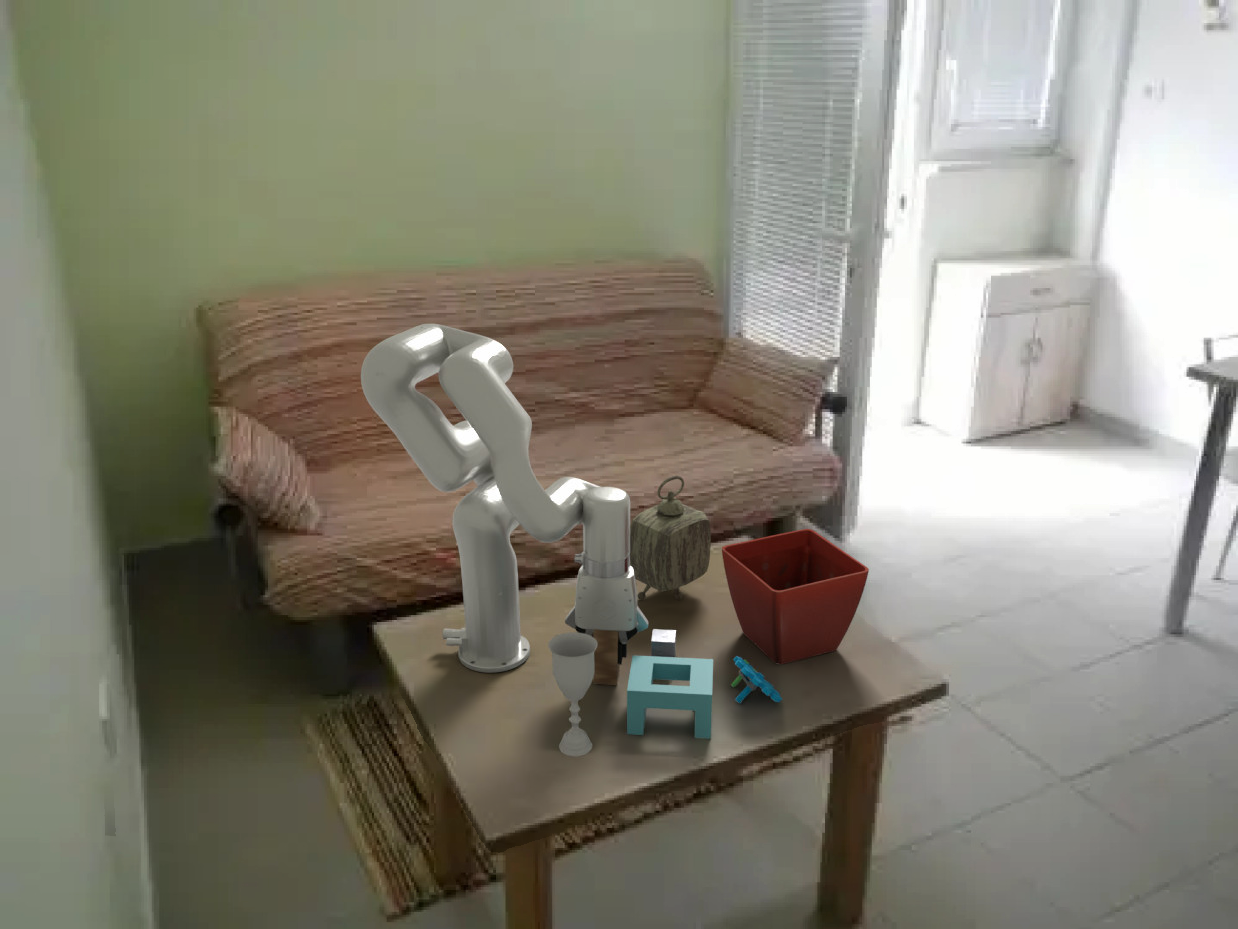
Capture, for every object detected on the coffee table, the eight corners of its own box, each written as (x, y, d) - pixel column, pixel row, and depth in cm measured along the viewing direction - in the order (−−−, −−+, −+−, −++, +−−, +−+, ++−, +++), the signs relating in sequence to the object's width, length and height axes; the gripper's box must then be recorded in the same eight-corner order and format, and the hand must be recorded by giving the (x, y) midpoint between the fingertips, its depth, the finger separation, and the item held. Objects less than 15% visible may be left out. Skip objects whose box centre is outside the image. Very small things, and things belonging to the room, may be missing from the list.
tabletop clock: (679, 576, 210) (681, 461, 201) (712, 591, 204) (716, 474, 194) (628, 600, 201) (627, 481, 191) (661, 617, 194) (662, 495, 185)
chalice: (547, 757, 156) (542, 654, 149) (557, 730, 162) (554, 630, 155) (594, 762, 154) (592, 659, 148) (603, 735, 161) (601, 634, 154)
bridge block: (627, 734, 161) (627, 690, 158) (632, 697, 170) (632, 655, 167) (710, 738, 160) (712, 694, 157) (711, 701, 169) (713, 659, 166)
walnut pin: (593, 683, 174) (593, 621, 169) (596, 670, 177) (596, 609, 173) (617, 685, 173) (617, 622, 169) (619, 671, 177) (619, 610, 172)
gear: (793, 705, 165) (750, 669, 162) (767, 732, 165) (724, 697, 162) (770, 676, 175) (730, 642, 173) (747, 701, 176) (706, 668, 173)
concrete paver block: (651, 671, 177) (651, 641, 175) (652, 659, 181) (652, 629, 179) (674, 672, 177) (674, 642, 175) (675, 660, 181) (676, 630, 178)
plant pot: (716, 627, 191) (719, 545, 185) (804, 606, 198) (810, 526, 192) (770, 680, 175) (774, 592, 168) (864, 656, 181) (872, 570, 175)
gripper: (552, 570, 164) (554, 669, 171) (656, 575, 163) (654, 674, 170) (559, 549, 171) (560, 644, 178) (659, 554, 170) (657, 650, 177)
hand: (606, 658), depth 174 cm, fingers closed on walnut pin, 4 cm apart
